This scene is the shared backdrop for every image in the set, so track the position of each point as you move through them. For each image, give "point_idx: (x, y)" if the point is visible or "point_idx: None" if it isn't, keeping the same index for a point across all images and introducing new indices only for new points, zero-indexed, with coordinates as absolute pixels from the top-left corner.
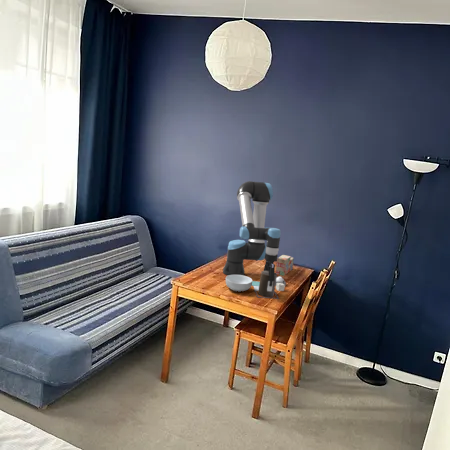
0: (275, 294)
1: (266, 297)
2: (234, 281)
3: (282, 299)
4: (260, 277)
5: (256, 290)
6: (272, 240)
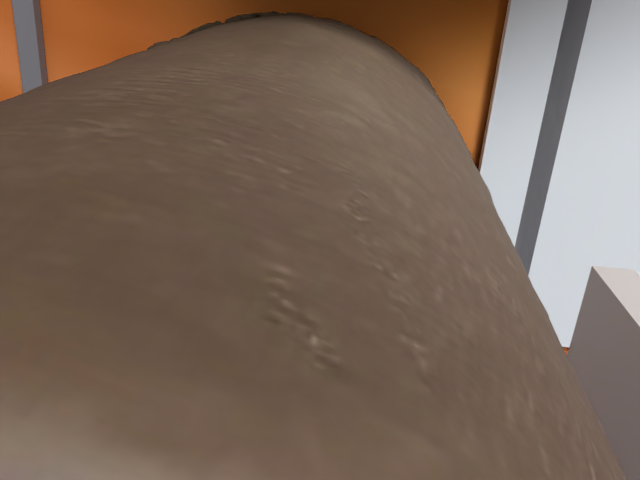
0: None
1: None
2: None
3: None
4: (195, 114)
5: (509, 15)
6: None
